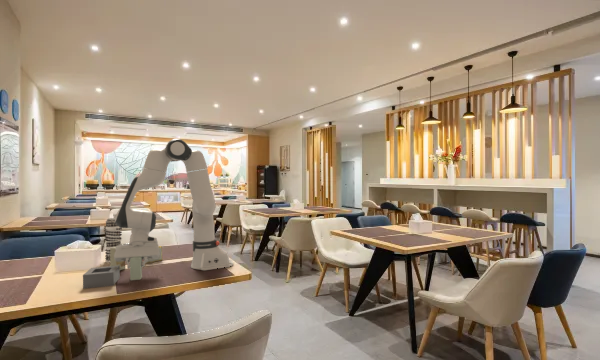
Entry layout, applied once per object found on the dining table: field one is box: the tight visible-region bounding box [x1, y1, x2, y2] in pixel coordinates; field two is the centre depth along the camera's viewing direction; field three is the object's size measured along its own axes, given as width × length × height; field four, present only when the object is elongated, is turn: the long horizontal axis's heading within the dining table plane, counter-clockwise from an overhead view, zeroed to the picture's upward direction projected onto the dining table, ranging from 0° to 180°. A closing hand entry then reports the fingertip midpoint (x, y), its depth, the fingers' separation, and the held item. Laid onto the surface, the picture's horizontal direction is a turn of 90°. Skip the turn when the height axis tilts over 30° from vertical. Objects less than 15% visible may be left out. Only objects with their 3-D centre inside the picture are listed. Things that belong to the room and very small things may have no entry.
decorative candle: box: [103, 217, 123, 263], centre depth 192 cm, size 9×9×25 cm
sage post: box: [129, 257, 143, 281], centre depth 157 cm, size 4×4×10 cm
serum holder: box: [82, 265, 121, 289], centre depth 151 cm, size 12×12×6 cm
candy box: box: [142, 245, 163, 264], centre depth 187 cm, size 16×2×8 cm, turn 136°
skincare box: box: [109, 247, 126, 271], centre depth 172 cm, size 6×4×12 cm
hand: (135, 266), depth 156 cm, fingers closed on sage post, 4 cm apart
